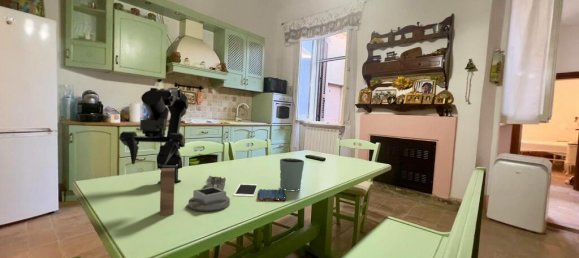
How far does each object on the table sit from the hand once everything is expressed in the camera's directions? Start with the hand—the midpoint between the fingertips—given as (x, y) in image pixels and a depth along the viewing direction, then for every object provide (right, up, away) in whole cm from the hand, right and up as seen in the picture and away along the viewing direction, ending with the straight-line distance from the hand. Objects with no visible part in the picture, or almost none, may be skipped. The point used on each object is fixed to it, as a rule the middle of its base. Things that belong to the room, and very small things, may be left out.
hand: (148, 164), depth 81 cm
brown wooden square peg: (+8, -14, -4) cm, 17 cm away
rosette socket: (+18, -14, +4) cm, 23 cm away
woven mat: (+38, -15, +15) cm, 43 cm away
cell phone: (+27, -14, +22) cm, 37 cm away
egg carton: (+14, -13, +24) cm, 31 cm away
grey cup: (+45, -14, +27) cm, 54 cm away
